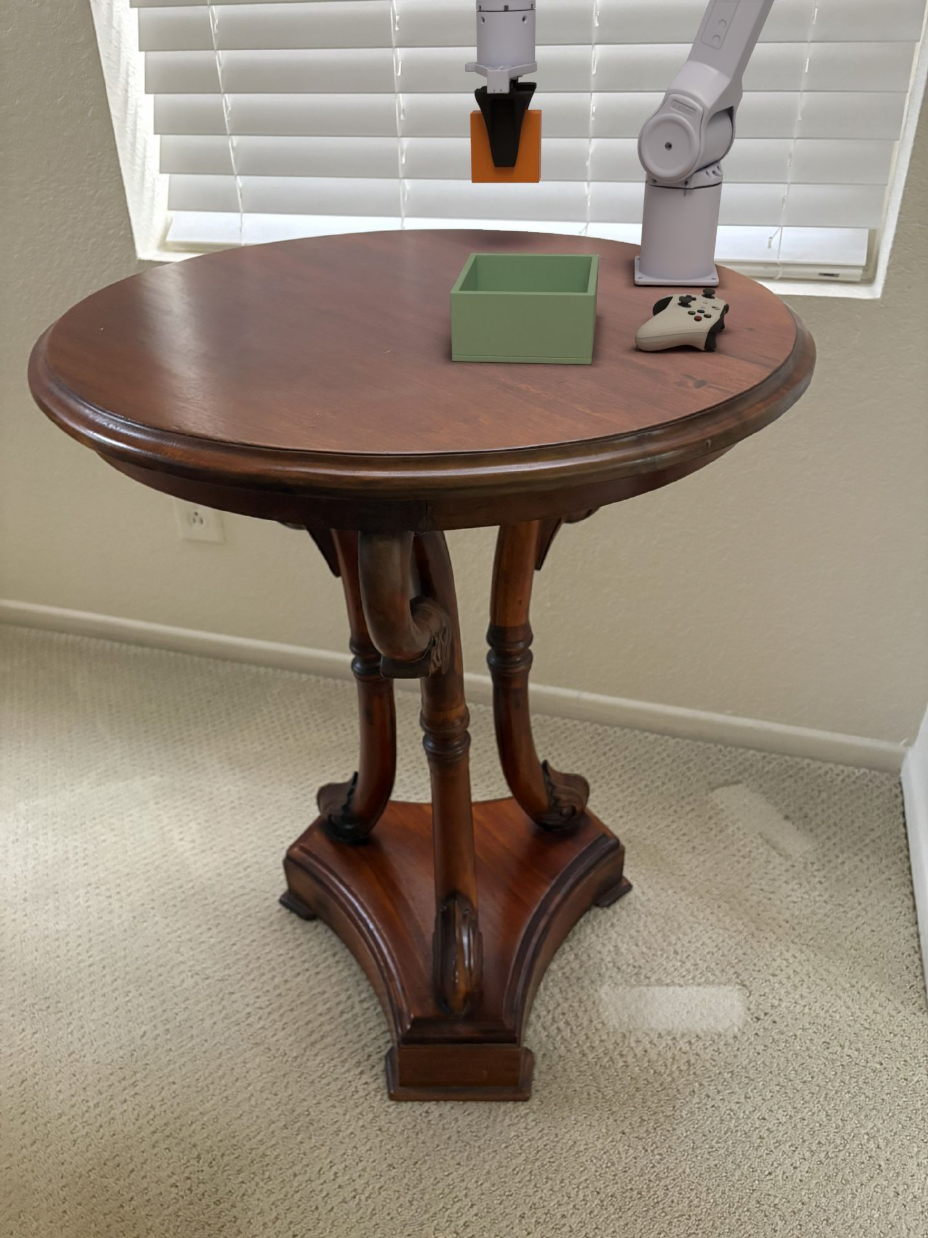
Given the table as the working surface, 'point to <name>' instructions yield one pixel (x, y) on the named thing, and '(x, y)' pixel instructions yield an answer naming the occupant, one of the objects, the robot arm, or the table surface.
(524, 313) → the bin
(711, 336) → the game controller
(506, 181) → the block
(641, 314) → the table surface
